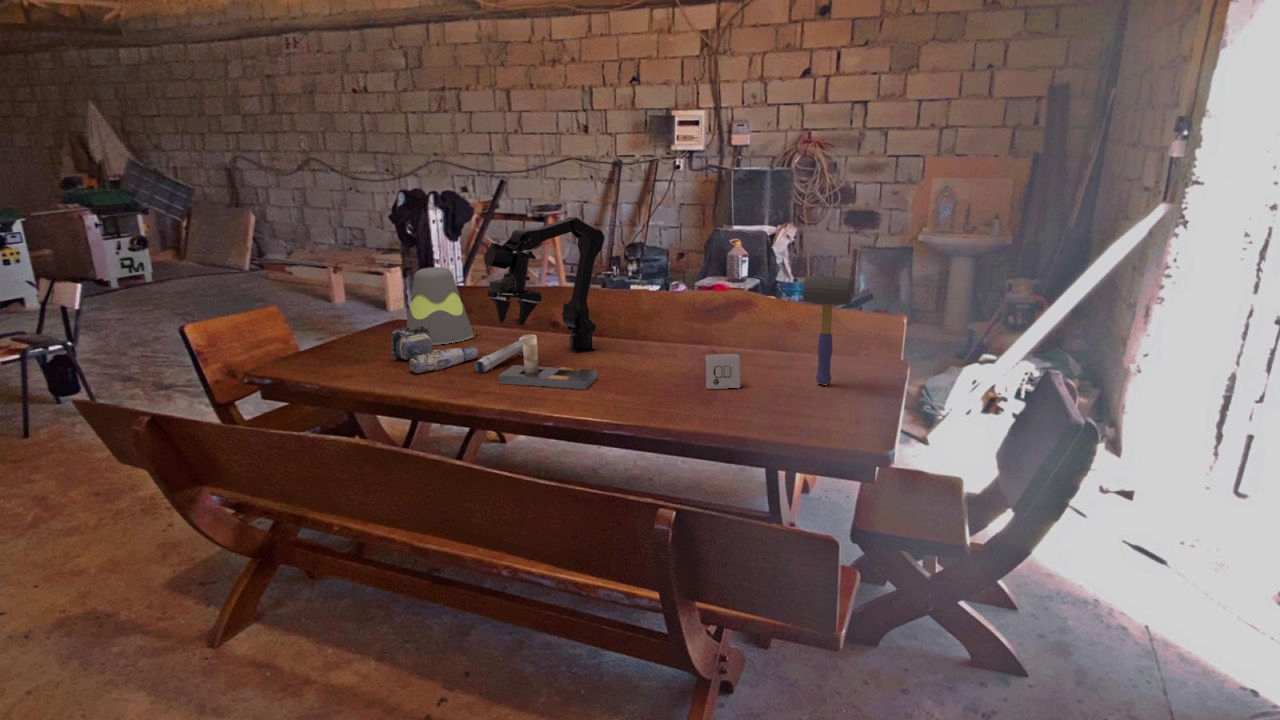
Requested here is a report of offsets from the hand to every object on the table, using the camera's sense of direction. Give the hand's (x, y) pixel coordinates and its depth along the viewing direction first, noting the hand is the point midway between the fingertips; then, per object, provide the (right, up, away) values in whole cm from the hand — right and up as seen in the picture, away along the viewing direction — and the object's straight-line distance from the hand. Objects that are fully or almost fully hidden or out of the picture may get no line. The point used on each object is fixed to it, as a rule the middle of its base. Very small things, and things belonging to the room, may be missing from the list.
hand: (511, 324), depth 223 cm
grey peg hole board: (+12, -17, -10) cm, 23 cm away
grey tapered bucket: (-33, -2, +44) cm, 55 cm away
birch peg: (+7, -16, -8) cm, 20 cm away
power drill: (-27, -12, +11) cm, 32 cm away
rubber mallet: (+89, -18, -18) cm, 92 cm away
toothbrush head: (-3, -12, +10) cm, 16 cm away
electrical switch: (+61, -18, -17) cm, 66 cm away
